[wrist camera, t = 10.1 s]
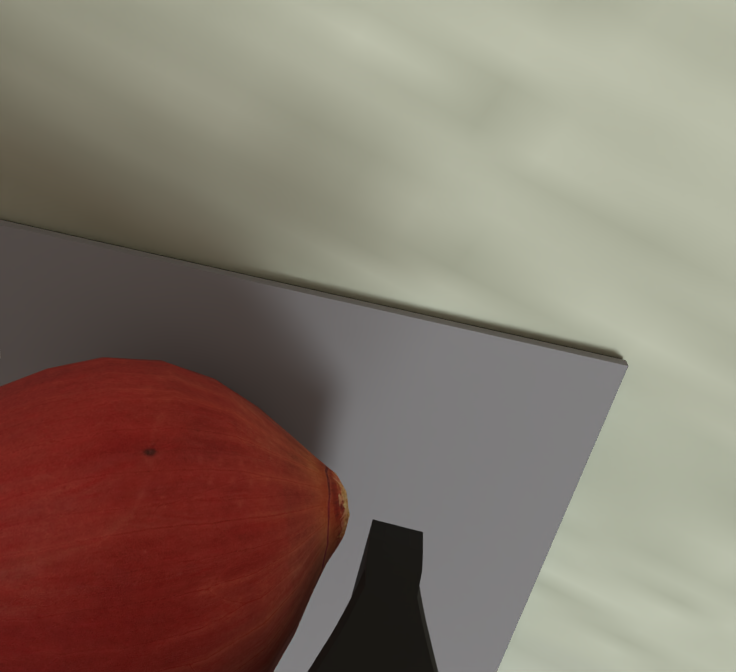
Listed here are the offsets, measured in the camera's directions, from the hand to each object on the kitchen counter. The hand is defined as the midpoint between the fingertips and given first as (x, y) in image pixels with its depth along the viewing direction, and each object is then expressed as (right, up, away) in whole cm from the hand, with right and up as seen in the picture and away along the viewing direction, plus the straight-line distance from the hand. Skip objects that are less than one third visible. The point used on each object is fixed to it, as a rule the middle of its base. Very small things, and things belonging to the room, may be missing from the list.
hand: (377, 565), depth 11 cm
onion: (0, +1, 0) cm, 1 cm away
